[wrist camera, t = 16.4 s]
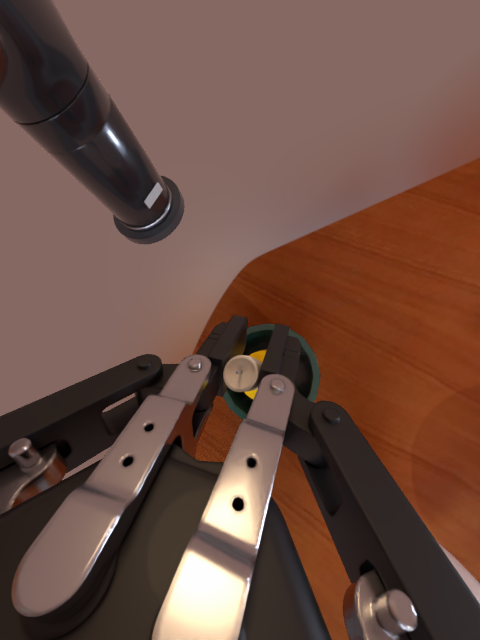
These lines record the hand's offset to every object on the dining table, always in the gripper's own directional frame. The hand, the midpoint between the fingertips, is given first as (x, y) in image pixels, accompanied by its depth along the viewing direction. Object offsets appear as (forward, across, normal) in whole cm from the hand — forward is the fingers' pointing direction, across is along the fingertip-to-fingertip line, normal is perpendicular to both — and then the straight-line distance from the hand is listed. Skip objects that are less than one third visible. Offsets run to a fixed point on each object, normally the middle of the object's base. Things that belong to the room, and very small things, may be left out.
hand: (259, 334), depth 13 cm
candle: (+7, 0, +10) cm, 12 cm away
